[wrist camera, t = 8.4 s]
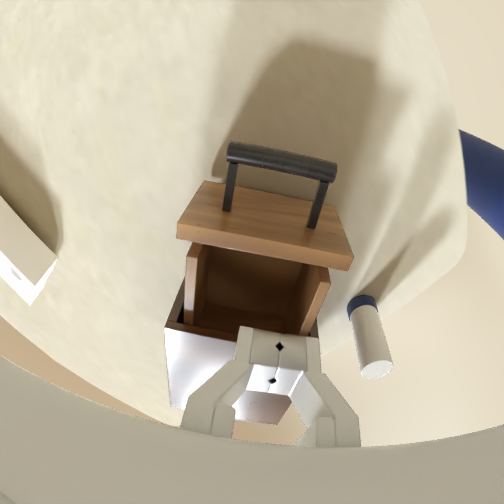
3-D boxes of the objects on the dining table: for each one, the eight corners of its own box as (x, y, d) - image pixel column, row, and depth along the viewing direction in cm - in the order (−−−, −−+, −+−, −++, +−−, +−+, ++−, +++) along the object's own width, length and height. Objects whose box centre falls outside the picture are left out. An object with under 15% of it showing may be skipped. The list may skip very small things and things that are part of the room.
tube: (379, 297, 31) (400, 360, 24) (367, 318, 33) (383, 380, 26) (353, 293, 31) (369, 358, 24) (342, 314, 33) (354, 379, 25)
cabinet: (191, 258, 30) (164, 327, 22) (312, 281, 31) (320, 354, 23) (187, 346, 38) (170, 406, 30) (279, 362, 39) (277, 424, 31)
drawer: (211, 124, 22) (183, 145, 15) (351, 153, 22) (380, 187, 16) (193, 298, 32) (175, 353, 25) (295, 316, 32) (297, 374, 26)
